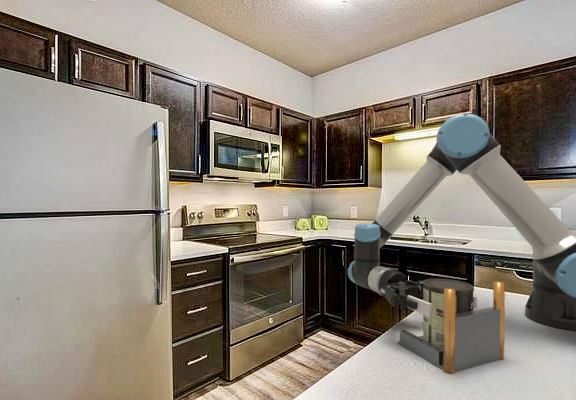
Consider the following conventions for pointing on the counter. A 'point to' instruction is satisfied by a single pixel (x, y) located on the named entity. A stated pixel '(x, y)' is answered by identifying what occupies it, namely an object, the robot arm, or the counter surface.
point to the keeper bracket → (464, 335)
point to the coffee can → (435, 296)
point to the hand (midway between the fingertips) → (454, 306)
